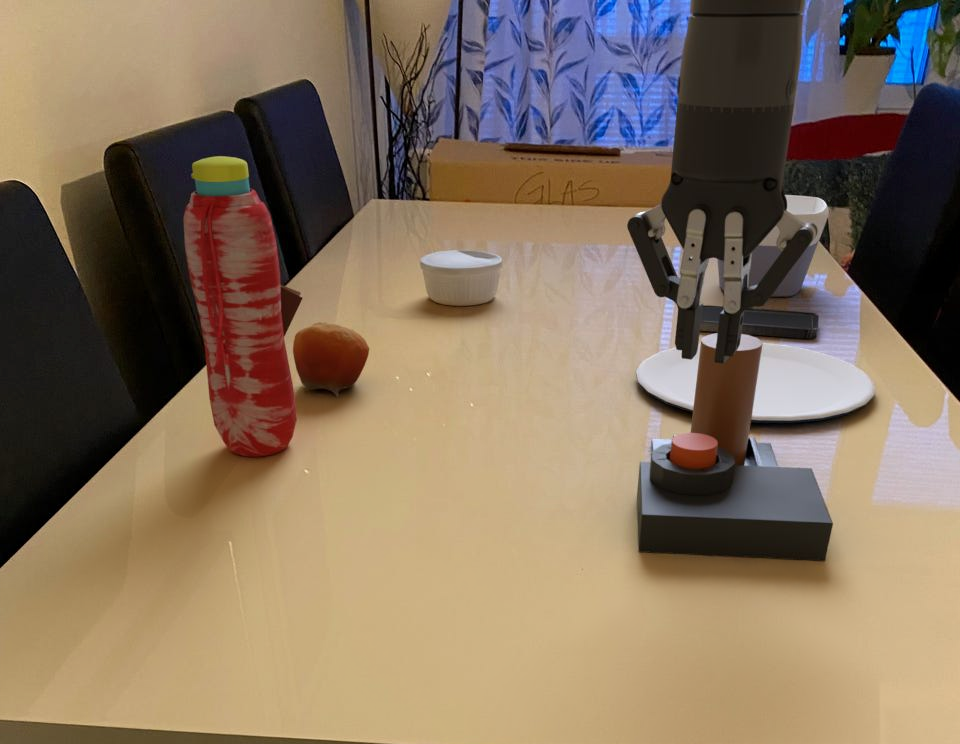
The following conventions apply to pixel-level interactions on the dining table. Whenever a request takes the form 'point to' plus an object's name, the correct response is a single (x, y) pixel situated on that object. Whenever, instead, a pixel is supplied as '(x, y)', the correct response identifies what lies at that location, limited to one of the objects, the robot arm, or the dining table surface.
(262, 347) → the water bottle
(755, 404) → the plate
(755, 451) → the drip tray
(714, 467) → the red push button box
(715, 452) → the button
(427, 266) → the ramekin
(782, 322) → the phone
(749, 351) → the tall brown tube
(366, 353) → the fruit
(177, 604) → the dining table surface
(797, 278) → the white and lavender bin
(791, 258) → the robot arm
